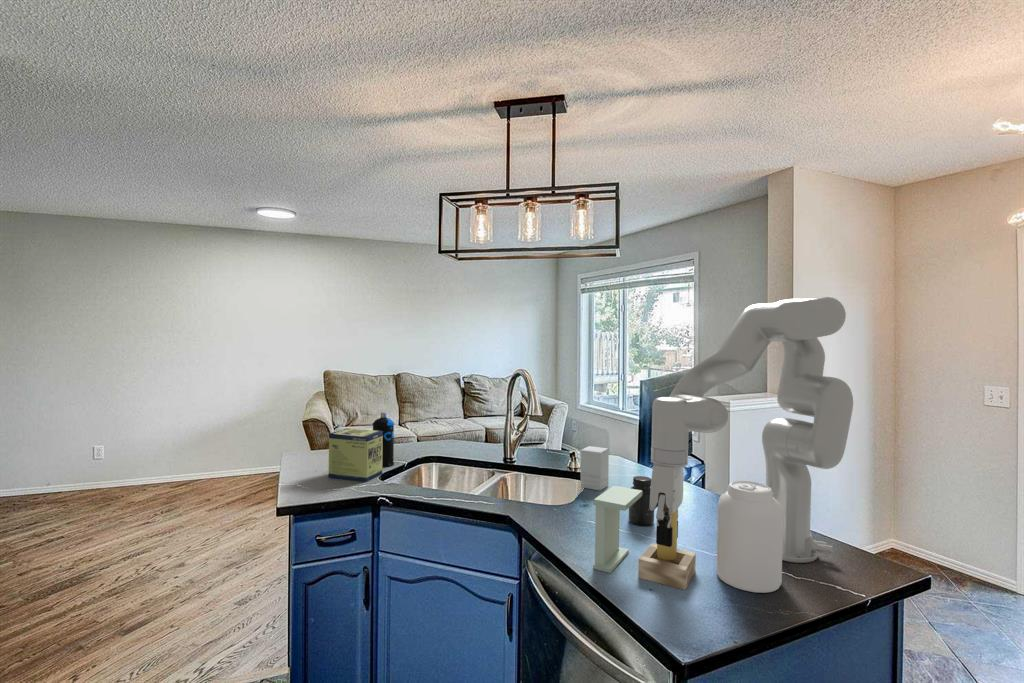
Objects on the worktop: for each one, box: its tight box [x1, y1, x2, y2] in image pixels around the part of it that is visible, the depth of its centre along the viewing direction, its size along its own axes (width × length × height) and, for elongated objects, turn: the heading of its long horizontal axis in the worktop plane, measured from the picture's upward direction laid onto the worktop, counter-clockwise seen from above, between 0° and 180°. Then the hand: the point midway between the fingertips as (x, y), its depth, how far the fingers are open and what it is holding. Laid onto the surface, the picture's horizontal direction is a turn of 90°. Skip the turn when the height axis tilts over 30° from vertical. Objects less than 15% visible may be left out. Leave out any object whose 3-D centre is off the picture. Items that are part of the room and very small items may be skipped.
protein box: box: [328, 428, 383, 483], centre depth 181 cm, size 10×16×16 cm
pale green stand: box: [592, 485, 642, 574], centre depth 116 cm, size 7×12×15 cm, turn 149°
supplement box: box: [580, 445, 610, 492], centre depth 172 cm, size 7×7×13 cm
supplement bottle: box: [628, 475, 655, 527], centre depth 141 cm, size 7×7×12 cm
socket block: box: [637, 542, 697, 591], centre depth 110 cm, size 10×10×4 cm
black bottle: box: [372, 411, 395, 468], centre depth 196 cm, size 8×8×20 cm
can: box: [716, 480, 783, 594], centre depth 109 cm, size 12×12×20 cm
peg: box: [656, 508, 679, 560], centre depth 110 cm, size 4×4×12 cm
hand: (667, 540), depth 110 cm, fingers closed on peg, 4 cm apart
